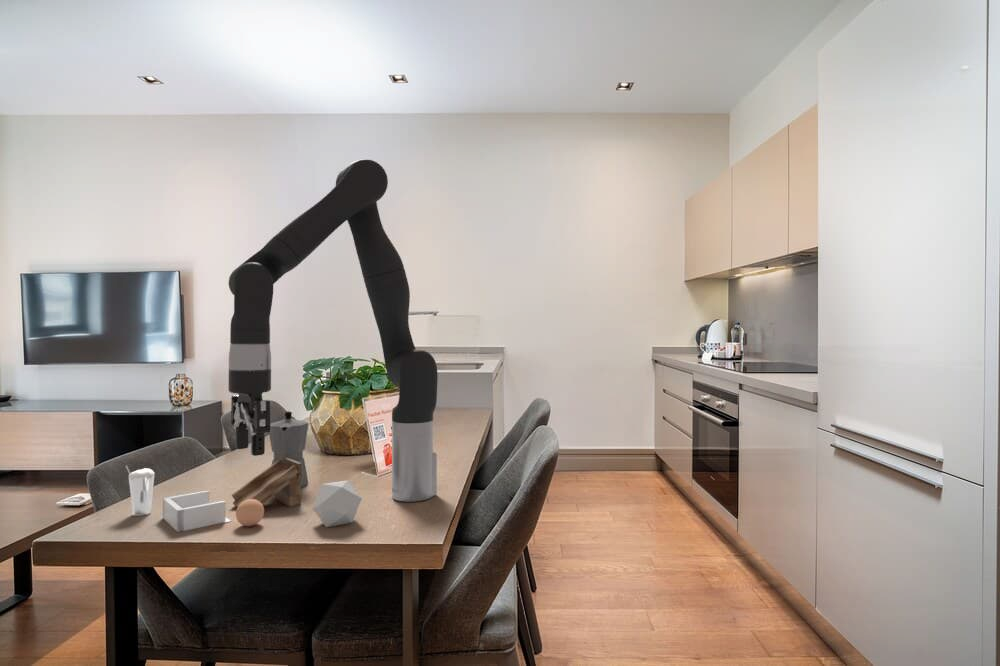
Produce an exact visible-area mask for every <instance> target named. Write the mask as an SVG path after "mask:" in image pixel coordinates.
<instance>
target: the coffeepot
mask: <svg viewBox="0 0 1000 666" xmlns="http://www.w3.org/2000/svg"><path fill="white" fill-rule="evenodd" d="M292 414H293V412H292V411H289V410H288V411H285V412H284V415H285V418H284V419H282V420H278V421H275V422H270V432H268V433H269V441H270V446H271V448H270V449H271V451H272V452H273V459H272V462H271V465H273V464H274V463H276V462H277V461H278V460H281V461H282V463H283V458H285V457H287V458H289V459H292V460H294V461H297V462H300V463H302V478H301V488H303V487H306V485H308V484H309V477H308V473H307V468H306V463H305V462H306V461H305V458H304V454H303V453H304V452H303V451H304V450H305V448H306V443H307V436H308V431H309V429H308V428H309V422H307V421H304V420H300V419H296V417H295V416H294V417H293V416H292Z"/></svg>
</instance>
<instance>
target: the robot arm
mask: <svg viewBox="0 0 1000 666" xmlns="http://www.w3.org/2000/svg"><path fill="white" fill-rule="evenodd" d="M388 181H389V179H388V175H387V173H386V170H385V168H384V167H383V166H382V165H381V164H380V163H379V162H377V161H374V160H373V159H367V158H362V159H358V160H356V161H353V162H351V163H350V164H348V165H347V166H345V167H344V168H343V169H341V171H339V172H338V174H337V177H336V180H335V186H334V187H333V188H332V189H331V190H330V191H329V192H328V193H327V194H326V195H325V196H324V197H323V198H321V199H320V200H319V201H318V202H316V203H315V204H313V206H311V207H310V208H308V209H307V210H306V211H304V212H303V213H301V214H300V215H298V217H295V218H294V219H293V220H292V221H291V222H289V223H288V224H287V225H286V226H285V227H283V228H282V229H281V230H279V232H277V233H276V234H275V235H274V236H273V237H272V238H271V239H269V241H268V242H267V243H266V244H265V245H264V246H263V247H262V248H261V249H259V250H258V251H257V252H256V253H254V254H253V255H252V256H250V257H249V258H248V259H247V260H245V261H244V262H243V263H241V264H240V265H239V266H237V267H236V268H235V269H234V270H233V271H232V272H231V273H230V275H229V278H228V289H229V290H230V292H231V294H232V295H233V296H234V297H233V300H234V301H233V315H232V317H231V321H230V327H229V328H230V330H229V331H230V337H229V340H230V342H229V343H230V344H229V350H228V351H229V352H228V392H229V393H230V394H236V395H231V404H230V405H231V408H230V424H231V426H233V428H234V430H235V449H237V450H243V449H244V450H245V449H248V448H249V430H250V434H251V437H250V438H251V440H250V443H251V445H250V447H251V448H250V450H251V451H250V452H251V453H250V454H251V455H252V456H253V457H255V456H256V457H257V456H264V454H265V452H266V451H265V449H266V448H265V447H266V446H265V442H266V441H265V440H266V437H265V436H266V435H267V433H269V432H270V424H271V402H270V399H264V398H263V393H268V392H270V391H272V390H271V389H272V352H271V326H270V325H271V324H270V323H271V322H270V320H271V319H270V318H271V311H272V304H273V297H274V284H275V283H277V281H279V280H280V279H282V277H283V276H284V275H285V274H287V273H288V272H290V271H292V270H293V269H296V268H297V267H298V266H299V265H300V264H301V263H302V262H303V261H304V260H305V259H307V258H308V257H309V256H310V255H311V254H312V253H313V252H314V251H315V250H316V249H318V247H319V246H320V245H321V244H322V243H324V241H326V239H327V238H328V237H330V236H331V235H332V234H333V233H334V232H335V231H336V230H337V229H338V228H339V227H340V226H342V225H343V224H344V223H345V222H347V224H348V226H349V229H350V231H351V236H352V239H353V243H354V247H355V251H356V254H357V258H358V261H359V265H360V270H361V274H362V278H363V283H364V285H365V288H366V292H367V296H368V299H369V302H370V305H371V309H372V313H373V315H374V316H373V317H374V319H375V323H376V326H377V329H378V333H379V337H380V342H381V348H382V354H383V360H384V365H385V371H386V375H387V377H388V380H389V381H390V382H391V383H392V384H393V385H394V387H396V388H399V390H398V391H399V392H398V394H399V395H398V401H397V404H396V405H395V406H394V407H393V408H392V411H391V497H392V499H393V500H396V501H399V502H406V503H407V502H413V503H414V502H420V501H421V502H422V501H425V500H429V499H431V498H432V497H434V496H437V495H438V465H437V464H438V461H437V460H438V455H437V454H438V453H436V452H434V412H435V410H436V407H437V403H438V400H437V399H438V379H439V377H438V366H437V362H436V360H435V357H434V356H433V355H432V354H431V353H429V352H428V351H425V350H421V349H416V346H415V344H414V341H413V340H414V339H413V338H412V335H411V331H410V324H409V311H410V301H411V300H410V297H411V292H410V286H409V280H408V277H407V274H406V270H405V266H404V263H403V260H402V257H401V256H400V254H399V252H398V250H397V249H396V247H395V245H394V244H393V243H392V241H391V240H390V238H389V236H388V235H387V233H386V231H385V229H384V226H383V223H382V220H381V217H380V213H379V208H378V201H379V200H381V199H382V198H383V197H384V195H385V193H386V191H387V189H388V183H389V182H388Z"/></svg>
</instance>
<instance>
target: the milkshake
mask: <svg viewBox="0 0 1000 666" xmlns="http://www.w3.org/2000/svg"><path fill="white" fill-rule="evenodd" d="M125 468H126V470H127V472H128V483H129V491H130V501H131V502H130V503H131V514H132V516H133V517H143V516H147V515H149V514H151V513H152V508H153V507H152V505H153V504H152V503H153V495H154V494H153V492H154V483H155V472H154V470H153V469H151V468H146V467H144V468H142V469H137V470H135V471H132V472H131V471H130V469H129V466H128V465H125Z"/></svg>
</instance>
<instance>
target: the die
mask: <svg viewBox="0 0 1000 666" xmlns="http://www.w3.org/2000/svg"><path fill="white" fill-rule="evenodd" d="M362 499H363V498H362V497H361V496H360V494H359V493H358V492H357V490H356V489H355V488H354V486H353V485H352V484H351V483H350V481H349V480H342V481H340V480H339V481H333V482H325V483H322V484H321V485H320V488H319V491H318V493H317V496H316V499H315V501H314V504H313V505H312V506H313V507H312V510H313V511H314V513H315V514H316V515H317V518H319V519H320V521H321V523H322V524H323V525H324V527H325V528H331V527H336V526H342V525H348V524H352V523H353V521H354V519H355V517H356V515H357V512H358V509H359V506H360V504H361V501H362Z"/></svg>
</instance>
